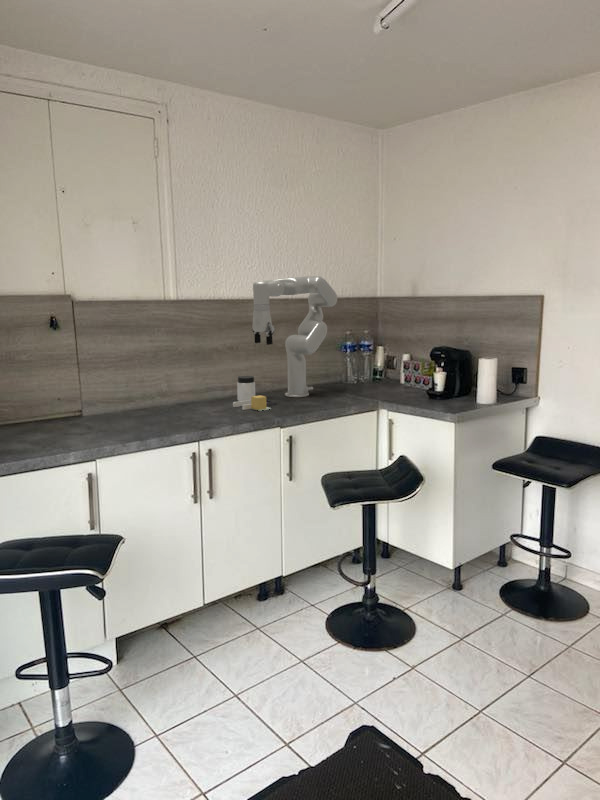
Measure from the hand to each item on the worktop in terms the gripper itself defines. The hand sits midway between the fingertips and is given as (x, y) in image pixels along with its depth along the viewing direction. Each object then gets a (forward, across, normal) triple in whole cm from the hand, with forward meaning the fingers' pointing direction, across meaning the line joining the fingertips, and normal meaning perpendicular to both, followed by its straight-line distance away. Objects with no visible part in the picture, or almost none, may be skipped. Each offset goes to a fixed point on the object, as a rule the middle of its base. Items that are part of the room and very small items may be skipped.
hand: (263, 343), depth 279 cm
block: (+28, +13, -14) cm, 34 cm away
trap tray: (+29, +5, -4) cm, 29 cm away
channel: (+28, +5, -14) cm, 32 cm away
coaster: (+28, +13, -12) cm, 34 cm away
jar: (+29, -9, -6) cm, 31 cm away
